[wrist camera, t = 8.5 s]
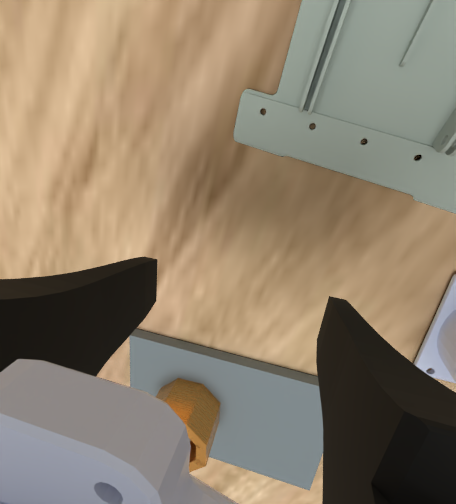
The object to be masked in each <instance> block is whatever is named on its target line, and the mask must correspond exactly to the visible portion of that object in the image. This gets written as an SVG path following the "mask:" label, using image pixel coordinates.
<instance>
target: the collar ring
mask: <svg viewBox="0 0 456 504" xmlns="http://www.w3.org/2000/svg"><path fill="white" fill-rule="evenodd" d="M156 398H158V399H160V400H162V401H164V402H166V403H167V404H168V405H169V406H170V407H171V408H172V409H173V410H174V412H175V413H176V414H177V415H178V416H179V417H180V418H181V420H182V421H183V422H184V424H185V425H186V429H187V433H188V437H189V439H190V440H191V441H190V445H191V450H190V460H189V472H191V471H194V470H196V469H199V468H202V467H204V466H206V463H207V460H208V457H209V454H210V450H211V447H212V444H213V441H214V437H215V434H216V431H217V428H218V424H219V415H220V404H221V403H220V402H219V401H218V400H217V399H216V397H215V396H214V395H213V394H212V393H211V392H210V391H209V390H208V389H207V388H206V387H205V386H204V384H201V383H197V382H193V381H189V380H185V379H181V378H177V379H175V380H174V381H172V382H170V383H169V384H167V385H165V386H163V387H161V389H160V390H159V392H158V394H157V396H156Z"/></svg>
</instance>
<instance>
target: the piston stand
mask: <svg viewBox="0 0 456 504" xmlns="http://www.w3.org/2000/svg"><path fill="white" fill-rule="evenodd" d="M177 378H181V379H185V380H189V381H193V382H197V383H201V384H204V386H205V387H206V388H207V389H208V390H209V391H210V392H211V393H212V394H213V395H214V396H215V397H216V399H217V400H218V401H219V402H220V403H221V404H220V415H219V424H218V428H217V431H216V434H215V437H214V441H213V444H212V447H211V450H210V454H209V457H211V458H214V459H217V460H220V461H223V462H226V463H229V464H232V465H235V466H238V467H241V468H244V469H247V470H250V471H253V472H256V473H259V474H262V475H265V476H268V477H271V478H274V479H277V480H280V481H283V482H286V483H289V484H292V485H295V486H298V487H301V488H304V489H307V490H310V488H311V485H312V482H313V479H314V476H315V473H316V471H317V468H318V465H319V462H320V459H321V456H322V454H323V419H322V408H321V399H320V391H319V382H318V377H317V376H313V375H310V374H306V373H302V372H298V371H295V370H291V369H287V368H283V367H279V366H276V365H272V364H268V363H264V362H261V361H257V360H253V359H249V358H245V357H242V356H238V355H234V354H230V353H226V352H223V351H219V350H215V349H211V348H208V347H204V346H200V345H196V344H192V343H189V342H185V341H181V340H177V339H174V338H170V337H166V336H162V335H158V334H155V333H151V332H147V331H143V330H140V329H135V330H134V331H133V332H132V333H131V335H130V387H132V388H135V389H138V390H141V391H145V392H147V393H148V394H150V395H152V396H154V397H156V396H157V394H158V392H159V390H160V389H161V387H163V386H165V385H167V384H169V383H170V382H172V381H174V380H175V379H177ZM189 441H191V440H190V439H189Z"/></svg>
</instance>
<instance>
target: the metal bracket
mask: <svg viewBox="0 0 456 504" xmlns="http://www.w3.org/2000/svg"><path fill="white" fill-rule="evenodd" d="M262 108H264V109H266V114H265V115H263V114H261V109H262ZM311 123H314V124H315V125H316V128H315V129H310V127H309V125H310V124H311ZM364 138H365V139H367V140H368V141H367V143H366V144H361V143H360V141H361V140H362V139H364ZM234 140H235V141H236V142H239V143H242V144H245V145H248V146H251V147H254V148H257V149H260V150H263V151H266V152H269V153H272V154H275V155H278V156H282V157H283V156H289V157H292V158H295V159H299V160H302V161H305V162H308V163H311V164H315V165H318V166H321V167H324V168H327V169H330V170H334V171H337V172H340V173H343V174H346V175H350V176H353V177H356V178H359V179H362V180H365V181H369V182H372V183H375V184H378V185H381V186H385V187H388V188H391V189H394V190H397V191H401V192H404V193H407V194H410V195H412V196H413V198H414V200H415V201H418V202H422V203H425V204H428V205H431V206H434V207H437V208H440V209H443V210H446V211H449V212H452V213H455V214H456V0H302V2H301V6H300V10H299V14H298V17H297V21H296V25H295V28H294V32H293V36H292V39H291V43H290V47H289V51H288V54H287V58H286V62H285V65H284V69H283V73H282V76H281V80H280V84H279V88H278V91H277V93H276V94H274V95H270V94H266V93H263V92H259V91H256V90H252V89H246V90H244V91H243V93H242V95H241V98H240V103H239V108H238V113H237V118H236V123H235V128H234ZM416 155H421V158H420V159H419V160H414V157H415V156H416Z"/></svg>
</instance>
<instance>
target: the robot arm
mask: <svg viewBox="0 0 456 504" xmlns="http://www.w3.org/2000/svg"><path fill="white" fill-rule="evenodd" d="M156 290H157V259H152V258H148V257H138V258H133V259H128V260H124V261H120V262H116V263H112V264H108V265H104V266H100V267H96V268H91V269H87V270H82V271H78V272H72V273H67V274H60V275H53V276H45V277H33V278H21V279H0V504H238V503H236V502H235V501H233V500H231V499H230V498H228V497H226V496H225V495H223V494H222V493H220V492H218V491H217V490H215V489H213V488H212V487H210V486H208V485H207V484H205V483H204V482H202V481H200V480H199V479H197V478H195V477H194V476H192V475H191V474H189V460H190V450H191V445H190V441H189V437H188V433H187V429H186V425H185V424H184V422H183V421H182V420H181V418H180V417H179V416H178V415H177V414H176V413H175V412H174V410H173V409H172V408H171V407H170V406H169V405H168V404H167V403H166V402H164V401H162V400H160V399H158V398H156V397H154V396H152V395H150V394H148V393H147V392H145V391H141V390H138V389H135V388H132V387H128V386H125V385H122V384H118V383H115V382H112V381H109V380H105V379H102V378H99V377H96V376H97V374H98V373H99V371H100V370H101V369H102V367H103V366H104V364H105V363H106V362H107V361H108V359H109V358H110V357H111V356H112V355H113V353H114V352H115V351H116V350H117V349H118V348H119V347H120V346H121V345H122V343H123V342H124V341H125V340H126V339H127V338H128V337H129V336H130V335H131V333H132V332H133V331H134V330H135V329H136V328H137V327H138V326H139V324H140V323H141V322H142V321H143V320H144V319H145V317H146V316H147V314H148V313H149V311H150V310H151V308H152V307H153V305H154V303H155V302H156ZM316 362H317V372H318V382H319V391H320V399H321V408H322V419H323V504H456V393H455V392H454V391H452V390H450V389H449V388H447V387H446V386H444V385H443V384H441V383H440V382H438V381H437V380H435V379H434V378H437V379H441V380H445V381H449V382H453V383H456V274H454V276H453V277H452V279H451V281H450V284H449V286H448V288H447V290H446V293H445V295H444V297H443V299H442V302H441V304H440V306H439V308H438V310H437V313H436V315H435V317H434V319H433V322H432V324H431V326H430V328H429V331H428V333H427V335H426V337H425V339H424V342H423V344H422V346H421V348H420V351H419V353H418V355H417V357H416V359H415V362H414V364H413V363H412V362H410V361H409V360H408V359H406V358H405V357H404V356H403V355H401V354H400V353H399V352H398V351H397V350H395V349H394V348H393V347H392V346H391V345H390V344H389V343H388V342H387V341H385V340H384V339H383V338H382V337H381V336H380V335H379V334H378V333H377V332H376V331H375V330H374V329H373V328H372V327H371V326H370V325H369V324H368V323H367V322H366V321H365V320H364V319H363V317H362V316H361V315H360V314H359V313H358V312H357V311H356V310H355V309H354V308H353V307H352V306H351V304H350V303H349V302H347V301H346V300H344V299H339V298H334V297H330V296H329V299H328V303H327V306H326V310H325V313H324V317H323V321H322V324H321V328H320V331H319V335H318V338H317V360H316ZM429 368H432V369H431V370H427V369H429ZM432 377H433V378H432Z"/></svg>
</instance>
